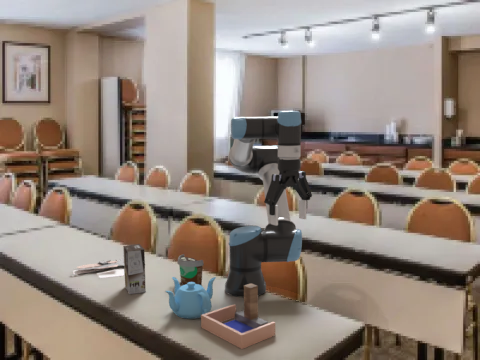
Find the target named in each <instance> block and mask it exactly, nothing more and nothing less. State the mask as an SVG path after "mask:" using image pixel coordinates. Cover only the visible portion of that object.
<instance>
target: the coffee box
mask: <svg viewBox="0 0 480 360" xmlns="http://www.w3.org/2000/svg"><path fill="white" fill-rule="evenodd" d="M122 248H123V259H124V265H123V269H124V287H125V289H126V291H127V293H128V294H129V295H132V294H140V293H141V294H142V293H145V292H146V289H147V288H146V261H145V260H146V259H145V248H143V246H142V245H141V244H140V243H136V244H135V243H134V244H129V245H123V247H122Z"/></svg>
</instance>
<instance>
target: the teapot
mask: <svg viewBox="0 0 480 360" xmlns="http://www.w3.org/2000/svg"><path fill="white" fill-rule="evenodd" d="M216 278H217V277H216V276H213V277H212V278H210V279H209V281H208V283H207V289H206V288H204V286H203V285H199V284H195V282H188V283H187V284H186V285H183V284H182V285H180V282H179V279H178V278H177V277H175V276H172V277H171V279H172V280H173V282H174V283H173V284H174V292H173V291H171V290H165V293H167V294H168V304H169V308H170V309H171V311H172V312H173V313H174V314H175V316H177V317H179V318H181V319H187V320H188V319H189V320H193V319H199V318H200V319H201V315H202V314H206V313H209V312H211V309H212V308H213V307H212V300H211V299H212V298H213V295H214V294H213V293H214V289H213V284H214V281H215V280H216Z"/></svg>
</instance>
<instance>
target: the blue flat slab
mask: <svg viewBox="0 0 480 360" xmlns="http://www.w3.org/2000/svg"><path fill="white" fill-rule="evenodd" d="M223 324H225V325H227V326H229V327H231V328H233V329H235V330H237V331H239V332H241V333H244V332H247V331H249V330H252V329H254V328H252V327H250V326H248V325H246V324H244V323H241V322H239V321H237V320H235V319H233V320H232V319H231V320H230V321H229V320H228V321H227V322H224V323H223Z"/></svg>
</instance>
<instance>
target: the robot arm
mask: <svg viewBox="0 0 480 360" xmlns="http://www.w3.org/2000/svg"><path fill="white" fill-rule="evenodd" d="M301 115H302V114H301V112H300V111H299V110H280V111H279V112H278V113H277V116H235V117H232V118H231V120H230V136H231V138H232V139H233V144H232V146H231V147H230V148H229V151H228V160H229V162H230V164H231V166H232V167H233V168H235V169H236V170H237V171H239V172H241V173H245V174H252V175H253V174H254V175H255V174H258V178H259V179H260V180H261V181H262V183H263V184H262V185H263V193H264V201H263V202H264V204H265V208H266V216H267V224H266V225H265V228H264V229H263V230H262V228H261V226H260V225H245V226H240V227H237V228H235V229H232V230H231V231H230V233H229V238H228V239H229V242H228V246H229V247H228V248H229V249H228V250H229V252H228V253H229V259H228V260H229V262H228V263H229V264H228V265H229V271H228V275H227V279H226V281H225V284H224V291H225V293H226V294H228V295H230V296H232V297H237V298H238V297H239V298H244V285H247V284H251V283H252V284H254V285H257V286H258V296H260V295H264V294H265V292H267V284H266V281H265V277H264V274H263V271H262V263H283V262H284V263H285V262H286V263H289V262H296V261H298V260H299V259H300V257H301V253H302V246H303V233H302V230H301V229H300V228H297V226H296V224H295V223H294V222H293V221H291V214H290V208H289V203H288V202H289V201H288V197H287V196H288V195H287V191H286V189H287V188H289V187H293V189H294V190H295V191H296V192H297V194H298V196H299V197H300V198H299V200H298V219H301V220H307V209H308V201H310V200H311V198H312V196H313V194H312V191H311V189H310V186H309V183H308V179H307V173H306V171H303V170H302V171H301V168H302V167H301V163H302V162H301V161H302V160H301V159H300V158H301V155H302V154H301V153H302V152H301V147H302V146H301V145H302V144H301V142H302V140H301V139H302V137H301V135H302V116H301ZM258 139H259V140H262V139H263V140H264V139H265V140H266V139H267V140H269V139H270V140H272V139H273V140H274V139H275V140H276V139H277V145H276V144H274V145H255V141H256V140H258Z"/></svg>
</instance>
